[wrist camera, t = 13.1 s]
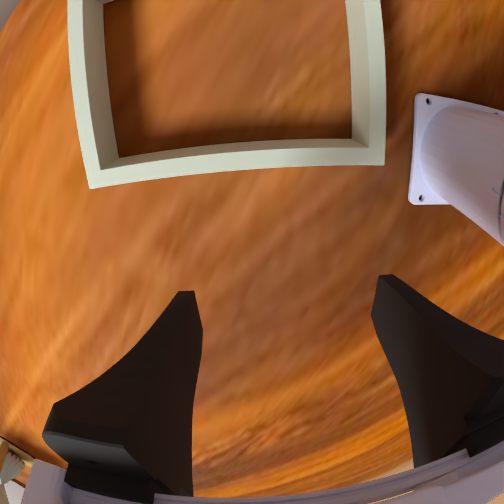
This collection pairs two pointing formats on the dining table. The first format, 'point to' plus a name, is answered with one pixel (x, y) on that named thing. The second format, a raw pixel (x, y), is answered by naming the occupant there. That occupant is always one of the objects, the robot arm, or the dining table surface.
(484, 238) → the dining table surface
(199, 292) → the dining table surface
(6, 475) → the hourglass
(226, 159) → the pale grey-green open frame
